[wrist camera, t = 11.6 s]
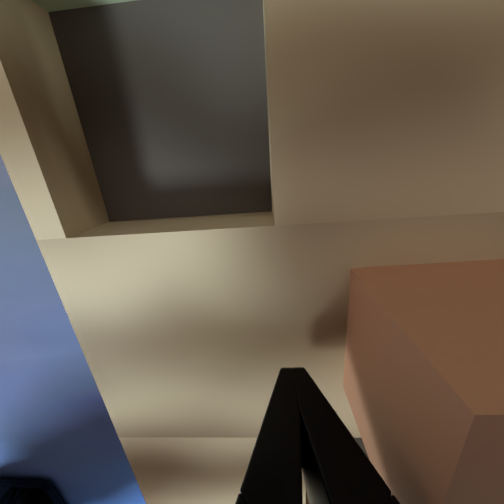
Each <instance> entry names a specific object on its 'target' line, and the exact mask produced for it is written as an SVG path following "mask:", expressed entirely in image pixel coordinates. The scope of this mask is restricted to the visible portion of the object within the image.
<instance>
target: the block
mask: <svg viewBox="0 0 504 504" xmlns="http://www.w3.org/2000/svg"><path fill="white" fill-rule="evenodd" d="M343 388H344V391H345V393H346V396H347V399H348V402H349V404H350V407H351V410H352V413H353V416H354V418H355V421H356V424H357V427H358V429H359V432H360V435H361V438H362V441H363V443H364V446H365V449H366V452H367V454H368V457H369V460H370V461H371V463H372V464H373V466H374V467H375V469H376V470H377V471H378V473H379V474H380V476H381V477H382V479H383V480H384V481H385V483H386V484H387V486H388V487H389V489H390V490H391V495H394V496H395V497H396V498H397V500H398V501H399V502H400V504H504V259H497V260H481V261H464V262H447V263H431V264H414V265H397V266H381V267H364V268H351V274H350V289H349V304H348V319H347V334H346V349H345V364H344V379H343Z"/></svg>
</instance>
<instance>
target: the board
mask: <svg viewBox="0 0 504 504" xmlns="http://www.w3.org/2000/svg"><path fill="white" fill-rule="evenodd" d="M0 154H1V157H2V159H3V162H4V164H5V166H6V169H7V171H8V173H9V176H10V178H11V181H12V183H13V185H14V188H15V190H16V193H17V195H18V197H19V200H20V202H21V205H22V207H23V209H24V212H25V214H26V217H27V219H28V221H29V224H30V226H31V229H32V231H33V233H34V236H35V238H36V241H37V243H38V245H39V248H40V250H41V253H42V255H43V257H44V260H45V262H46V265H47V267H48V269H49V272H50V274H51V277H52V279H53V281H54V284H55V286H56V288H57V291H58V293H59V296H60V298H61V300H62V303H63V305H64V308H65V310H66V312H67V315H68V317H69V320H70V322H71V324H72V327H73V329H74V332H75V334H76V336H77V339H78V341H79V344H80V346H81V348H82V351H83V353H84V356H85V358H86V360H87V363H88V365H89V368H90V370H91V372H92V375H93V377H94V380H95V382H96V384H97V387H98V389H99V392H100V394H101V396H102V399H103V401H104V403H105V406H106V408H107V411H108V413H109V415H110V418H111V420H112V423H113V425H114V427H115V430H116V432H117V435H118V437H119V439H120V442H121V444H122V447H123V449H124V451H125V454H126V456H127V459H128V461H129V463H130V466H131V468H132V471H133V473H134V475H135V478H136V480H137V483H138V485H139V487H140V490H141V492H142V495H143V497H144V499H145V502H146V504H235V503H236V500H237V497H238V494H239V493H240V488H241V485H242V482H243V479H244V476H245V473H246V470H247V467H248V464H249V461H250V458H251V455H252V452H253V449H254V446H255V443H256V440H257V437H258V434H259V431H260V428H261V425H262V422H263V419H264V416H265V413H266V410H267V407H268V404H269V401H270V398H271V395H272V392H273V389H274V386H275V383H276V380H277V377H278V374H279V371H280V369H281V368H287V367H292V368H293V367H304V368H305V369H306V370H307V372H308V373H309V375H310V376H311V377H312V379H313V380H314V382H315V383H316V385H317V386H318V387H319V389H320V390H321V392H322V393H323V395H324V396H325V397H326V399H327V400H328V402H329V403H330V405H331V406H332V407H333V409H334V410H335V412H336V413H337V414H338V416H339V417H340V419H341V420H342V422H343V423H344V424H345V426H346V427H347V429H348V430H349V432H350V433H351V434H352V436H353V437H354V439H355V440H356V442H357V443H358V444H359V446H360V447H361V449H362V450H363V452H364V453H365V454H366V456H367V457H368V454H367V452H366V449H365V446H364V443H363V441H362V438H361V435H360V432H359V429H358V427H357V424H356V421H355V418H354V416H353V413H352V410H351V407H350V404H349V402H348V399H347V396H346V393H345V391H344V388H343V379H344V364H345V349H346V334H347V319H348V304H349V289H350V274H351V268H364V267H381V266H397V265H414V264H431V263H447V262H464V261H481V260H497V259H504V0H0ZM368 459H369V457H368ZM302 495H303V504H309V501H308V496H307V491H306V486H305V481H304V477H303V472H302Z"/></svg>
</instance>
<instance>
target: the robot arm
mask: <svg viewBox="0 0 504 504" xmlns="http://www.w3.org/2000/svg"><path fill="white" fill-rule="evenodd" d="M302 472H303V477H304V481H305V486H306V491H307V496H308V501H309V504H400V502H399V501H398V500H397V498H396V497H395V496H394V495H391V490H390V489H389V487H388V486H387V484H386V483H385V481H384V480H383V479H382V477H381V476H380V474H379V473H378V471H377V470H376V469H375V467H374V466H373V464H372V463H371V461H370V460H369V459H368V457H367V456H366V454H365V453H364V452H363V450H362V449H361V447H360V446H359V444H358V443H357V442H356V440H355V439H354V437H353V436H352V434H351V433H350V432H349V430H348V429H347V427H346V426H345V424H344V423H343V422H342V420H341V419H340V417H339V416H338V414H337V413H336V412H335V410H334V409H333V407H332V406H331V405H330V403H329V402H328V400H327V399H326V397H325V396H324V395H323V393H322V392H321V390H320V389H319V387H318V386H317V385H316V383H315V382H314V380H313V379H312V377H311V376H310V375H309V373H308V372H307V370H306V369H305V368H304V367H293V368H292V367H287V368H281V369H280V371H279V374H278V377H277V380H276V383H275V386H274V389H273V392H272V395H271V398H270V401H269V404H268V407H267V410H266V413H265V416H264V419H263V422H262V425H261V428H260V431H259V434H258V437H257V440H256V443H255V446H254V449H253V452H252V455H251V458H250V461H249V464H248V467H247V470H246V473H245V476H244V479H243V482H242V485H241V488H240V493H239V494H238V497H237V500H236V503H235V504H303V495H302ZM0 504H64V503H63V501H62V500H61V498H60V497H59V495H58V493H57V492H56V490H55V489H54V487H53V486H52V484H51V483H50V482H48V481H45V480H0Z"/></svg>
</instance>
